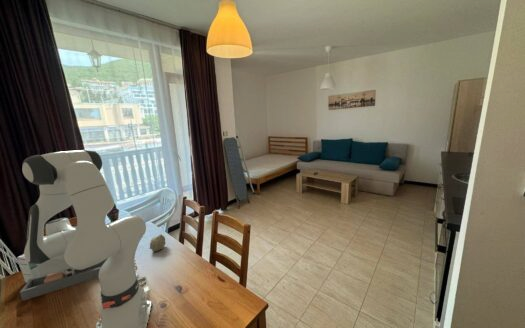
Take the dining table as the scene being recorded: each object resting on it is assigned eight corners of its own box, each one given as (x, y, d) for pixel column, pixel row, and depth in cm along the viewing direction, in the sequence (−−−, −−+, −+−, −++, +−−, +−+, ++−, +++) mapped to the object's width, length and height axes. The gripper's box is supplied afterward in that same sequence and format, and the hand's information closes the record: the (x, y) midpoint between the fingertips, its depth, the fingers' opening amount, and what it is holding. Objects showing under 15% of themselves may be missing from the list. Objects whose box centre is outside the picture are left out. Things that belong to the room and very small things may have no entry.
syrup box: (33, 284, 100) (25, 257, 97) (24, 282, 101) (16, 256, 98) (47, 275, 106) (40, 250, 103) (39, 274, 107) (31, 249, 104)
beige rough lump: (163, 248, 130) (165, 232, 131) (166, 252, 123) (169, 235, 124) (146, 249, 124) (149, 232, 125) (149, 254, 117) (152, 236, 119)
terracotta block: (63, 284, 98) (61, 275, 97) (46, 289, 95) (43, 280, 94) (67, 276, 103) (65, 268, 102) (51, 280, 100) (48, 272, 99)
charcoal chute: (112, 272, 106) (110, 265, 105) (22, 300, 90) (19, 292, 90) (114, 263, 114) (112, 255, 113) (31, 287, 98) (29, 279, 97)
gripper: (30, 261, 91) (38, 288, 94) (89, 247, 101) (94, 271, 103) (37, 254, 96) (44, 279, 99) (92, 240, 106) (97, 264, 109)
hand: (70, 275), depth 101 cm, fingers closed
